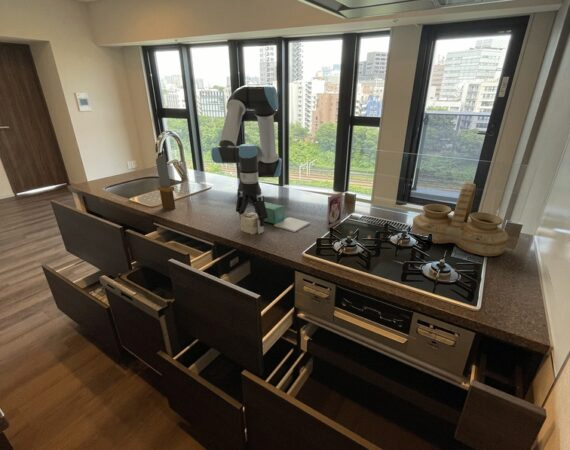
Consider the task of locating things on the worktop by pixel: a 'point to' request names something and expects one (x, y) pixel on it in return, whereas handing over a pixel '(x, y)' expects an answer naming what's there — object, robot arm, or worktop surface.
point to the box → (274, 213)
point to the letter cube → (249, 223)
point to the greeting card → (334, 209)
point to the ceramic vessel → (463, 226)
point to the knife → (165, 183)
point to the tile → (292, 224)
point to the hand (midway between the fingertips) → (252, 229)
